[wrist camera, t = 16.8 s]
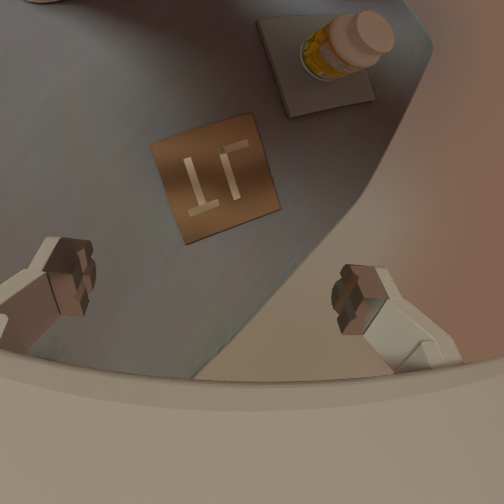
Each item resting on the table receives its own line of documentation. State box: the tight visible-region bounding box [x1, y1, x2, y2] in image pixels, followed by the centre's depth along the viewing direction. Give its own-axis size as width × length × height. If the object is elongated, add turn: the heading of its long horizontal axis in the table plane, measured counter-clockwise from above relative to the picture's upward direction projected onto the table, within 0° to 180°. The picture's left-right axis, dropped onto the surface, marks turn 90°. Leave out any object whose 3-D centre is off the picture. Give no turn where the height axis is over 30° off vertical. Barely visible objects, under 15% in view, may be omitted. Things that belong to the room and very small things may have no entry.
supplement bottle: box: [300, 10, 395, 81], centre depth 24 cm, size 5×5×10 cm
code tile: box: [150, 113, 281, 244], centre depth 30 cm, size 10×10×1 cm
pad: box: [256, 14, 376, 118], centre depth 29 cm, size 11×11×1 cm
